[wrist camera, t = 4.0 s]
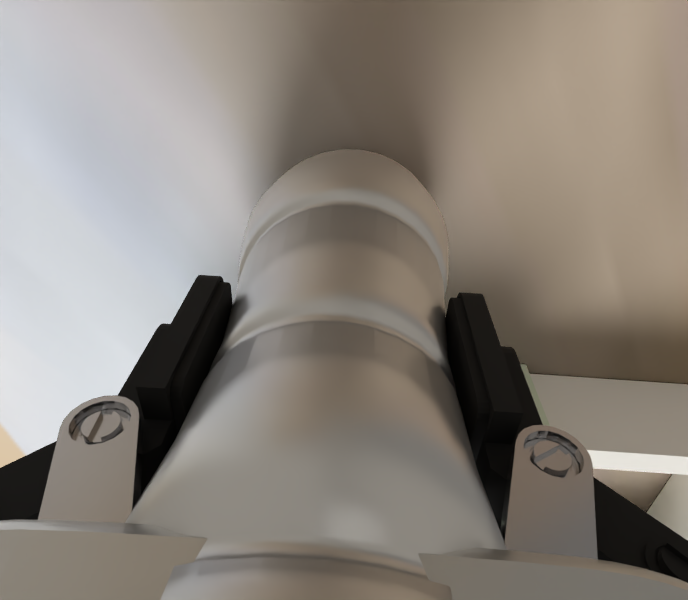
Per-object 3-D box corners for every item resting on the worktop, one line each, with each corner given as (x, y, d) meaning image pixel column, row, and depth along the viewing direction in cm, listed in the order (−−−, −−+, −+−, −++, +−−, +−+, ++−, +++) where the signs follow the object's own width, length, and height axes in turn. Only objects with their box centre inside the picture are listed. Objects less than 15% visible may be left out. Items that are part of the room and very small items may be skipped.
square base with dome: (246, 345, 21) (180, 550, 14) (760, 380, 21) (973, 606, 14) (259, 509, 28) (219, 707, 21) (648, 537, 28) (750, 745, 20)
